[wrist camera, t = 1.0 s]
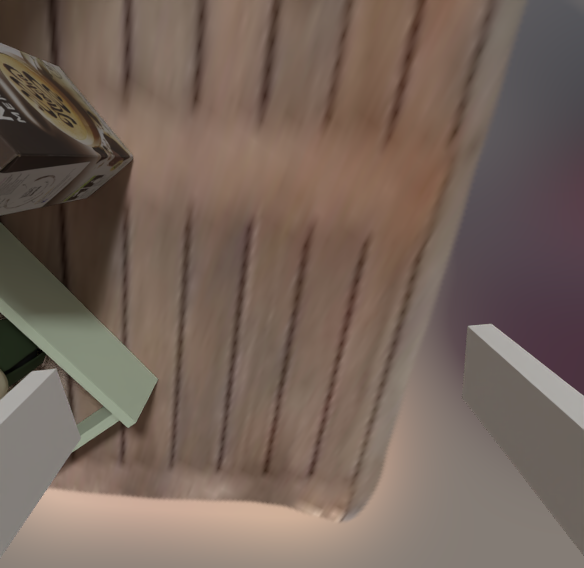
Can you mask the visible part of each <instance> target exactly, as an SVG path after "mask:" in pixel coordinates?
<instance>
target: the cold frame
mask: <svg viewBox="0 0 584 568" xmlns="http://www.w3.org/2000/svg"><path fill="white" fill-rule="evenodd" d="M0 312H1V313H2V314H3V315H4V316H5V317H6V318H7V319H8V320H9V321H10V322H12V323H13V324H14V325H15V326H16V327H17V328H18V329H19V330H20V331H22V332H23V333H24V334H25V335H26V336H27V337H28V338H29V339H30V340H31V341H33V342H34V343H35V344H36V345H37V346H38V347H39V348H40V349H41V350H42V351H44V352H45V353H46V354H47V355H48V356H49V357H50V358H51V359H52V360H54V361H55V362H56V363H57V364H58V365H59V366H60V367H61V368H62V369H63V370H65V371H66V372H67V373H68V374H69V375H70V376H71V377H72V378H73V379H74V380H76V381H77V382H78V383H79V384H80V385H81V386H82V387H83V388H84V389H85V390H87V391H88V392H89V393H90V394H91V395H92V396H93V397H94V398H95V399H97V400H98V401H99V402H100V403H101V404H102V405H103V407H102V408H101V409H99V410H98V411H96V412H95V413H93V414H92V415H90V416H89V417H88V418H86V419H85V420H83V421H82V422H80V423H79V424H77V428H78V431H79V434H80V437H81V439H80V441H79V442H78V444H77V445H76V447H75V448H74V450H73V451H75V450H76V449H78V448H79V447H81V446H82V445H84V444H85V443H87V442H88V441H90V440H91V439H93V438H94V437H96V436H97V435H99V434H100V433H102V432H103V431H105V430H106V429H108V428H109V427H110V426H112V425H113V424H115V423H116V422H118V421H119V420H120V421H121V422H122V423H123V424H124V425H125V426H126V427H127V428H129V427H130V426H132V425H133V424H135V423H136V422H137V420H138V418H139V416H140V414H141V412H142V410H143V408H144V406H145V404H146V402H147V400H148V398H149V396H150V394H151V392H152V390H153V388H154V386H155V384H156V383H157V381H158V379H157V378H156V377H155V376H154V375H153V374H152V373H151V372H150V371H149V370H148V369H147V368H146V367H145V366H144V365H143V364H142V363H141V362H140V361H139V360H138V359H137V358H136V357H135V356H134V355H133V354H132V353H131V352H130V351H129V350H128V349H127V348H126V347H125V346H124V345H123V344H122V343H121V342H120V341H119V340H118V339H117V338H116V337H115V336H114V335H113V334H112V333H111V332H110V331H109V330H108V329H107V328H106V327H105V326H104V325H103V324H102V323H101V322H100V321H99V320H98V319H97V318H96V317H95V316H94V315H93V314H92V313H91V312H90V311H89V310H88V309H87V308H86V307H85V306H84V305H83V304H82V303H81V302H80V301H79V300H78V299H77V298H76V297H75V296H74V295H73V294H72V293H71V292H70V291H69V290H68V289H67V288H66V287H65V286H64V285H63V284H62V283H61V282H60V281H59V280H58V279H57V278H56V277H55V276H54V275H53V274H52V273H51V272H50V271H49V270H48V269H47V268H46V267H45V266H44V265H43V264H42V263H41V262H40V261H39V260H38V259H37V258H36V257H35V256H34V255H33V254H32V253H31V252H30V251H29V250H28V249H27V248H26V247H25V246H24V245H23V244H22V243H21V242H20V241H19V240H18V239H17V238H16V237H15V236H14V235H13V234H12V233H11V232H10V231H9V230H8V229H7V228H6V227H5V226H4V225H3V224H2V223H1V222H0ZM73 451H72V452H73Z"/></svg>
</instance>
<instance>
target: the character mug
mask: <svg viewBox="0 0 584 568" xmlns="http://www.w3.org/2000/svg"><path fill="white" fill-rule="evenodd" d="M37 348H38V346H37V345H36V344H35V343H34V342H33V341H31V340H30V339H29V338H28V337H27V336H26V335H25V334H24V333H23V332H22V331H20V330H19V329H18V328H17V327H16V326H15V325H14V324H13V323H12V322H10V321H9V320H8V319H4V320H0V400H1V399H2V398H3V397H4V396H5V395H6V394H7V391H8V388H9V386H11V385H12V384H14V383H15V382H17V381H18V380H20V379H21V378H23V377H24V376H26V375H27V374H28V373H30V372H31V371H32V370H34V369H35V368H36V367H38V366H39V365H40V364H42V363H43V360H44V358H45V356H46V353H45V352H42V353H41V354H40V355H38V356H37V357H36V355H37Z"/></svg>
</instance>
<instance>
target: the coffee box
mask: <svg viewBox="0 0 584 568" xmlns="http://www.w3.org/2000/svg"><path fill="white" fill-rule="evenodd" d="M132 159H133V155H132V154H131V153H130V152H129V150H128V149H127V148H126V147H125V145H124V144H123V143H122V142H121V141H120V139H119V138H118V137H117V136H116V135H115V133H114V132H113V131H112V130H111V129H110V127H109V126H108V125H107V124H106V123H105V122H104V120H103V119H102V118H101V117H100V116H99V114H98V113H97V112H96V111H95V109H94V108H93V107H92V106H91V105H90V103H89V102H88V101H87V100H86V99H85V97H84V96H83V95H82V94H81V93H80V91H79V90H78V89H77V88H76V87H75V85H74V84H73V83H72V82H71V81H70V79H69V78H68V77H67V76H66V75H65V73H64V72H63V71H62V70H61V69H60V67H58V66H56V65H53V64H51V63H48V62H46V61H44V60H41V59H39V58H36V57H34V56H31V55H29V54H27V53H24V52H22V51H19V50H17V49H14V48H12V47H9V46H7V45H4V44H2V43H0V216H1V215H5V214H10V213H16V212H21V211H25V210H30V209H35V208H40V207H45V206H50V205H55V204H60V203H65V202H69V201H74V200H79V199H84V198H87V197H89V196H90V195H91V194H92V193H94V192H95V191H96V190H97V189H98V188H100V187H101V186H102V185H103V184H105V183H106V182H107V181H108V180H109V179H111V178H112V177H113V176H114V175H115V174H117V173H118V172H119V171H120V170H121V169H122V168H124V167H125V166H126V165H127V164H128V163H129V162H130V161H131V160H132Z"/></svg>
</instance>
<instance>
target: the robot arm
mask: <svg viewBox="0 0 584 568" xmlns="http://www.w3.org/2000/svg"><path fill="white" fill-rule="evenodd" d="M462 398H463V400H464V401H465V402H466V404H467V405H468V406H469V407H470V409H471V410H472V411H473V413H474V414H475V415H476V417H477V418H478V419H479V420H480V422H481V423H482V424H483V426H484V427H485V428H486V430H487V431H488V432H489V433H490V435H491V436H492V437H493V438H494V440H495V441H496V443H497V444H498V445H499V446H500V448H501V449H502V450H503V452H504V453H505V454H506V456H507V457H508V458H509V459H510V460H511V462H512V463H513V464H514V466H515V467H516V468H517V470H518V471H519V472H520V474H521V475H522V476H523V478H524V479H525V480H526V482H527V483H528V484H529V485H530V487H531V488H532V489H533V490H534V492H535V493H536V494H537V496H538V497H539V498H540V500H541V501H542V502H543V504H544V505H545V506H546V507H547V509H548V510H549V511H550V513H551V514H552V515H553V517H554V518H555V519H556V520H557V522H558V523H559V524H560V526H561V527H562V528H563V530H564V531H565V532H566V533H567V535H568V536H569V537H570V539H571V540H572V541H573V543H574V544H575V545H576V546H577V548H578V549H579V550H580V551H581V553H582V554H583V556H584V396H583V395H582V394H580V393H579V392H578V391H576V390H575V389H574V388H573V387H571V386H570V385H569V384H567V383H566V382H565V381H564V380H562V379H561V378H559V376H557V375H556V374H555V373H553V372H552V371H551V370H550V369H548V368H547V367H546V366H545V365H543V364H542V363H541V362H539V361H538V360H537V359H536V358H534V357H533V356H532V355H531V354H529V353H528V352H527V351H525V350H524V349H523V348H522V347H520V346H519V345H518V344H516V343H515V342H514V341H513V340H511V339H510V338H509V337H508V336H506V335H505V334H504V333H502V332H501V331H500V330H499V329H497V328H496V327H495V326H494V325H492V324H484V325H474V326H468V329H467V341H466V354H465V367H464V380H463V392H462ZM80 439H81V437H80V434H79V431H78V428H77V425H76V423H75V420H74V417H73V414H72V411H71V408H70V406H69V403H68V400H67V397H66V394H65V392H64V389H63V386H62V383H61V380H60V378H59V375H58V372H57V369H49V370H39V371H32V372H31V373H29V374H28V375H27V376H26V377H25V378H24V379H23V380H22V381H21V382H20V383H18V384H17V385H16V386H15V387H14V388H13V389H12V390H11V391H10V392H9V393H7V394H6V395H5V396H4V397H3V398H2V399H1V400H0V558H1V557H2V555H3V554H4V552H5V551H6V549H7V548H8V546H9V545H10V543H11V542H12V540H13V539H14V537H15V536H16V534H17V533H18V531H19V530H20V528H21V527H22V526H23V524H24V523H25V521H26V519H27V518H28V516H29V515H30V514H31V512H32V511H33V509H34V508H35V506H36V505H37V503H38V502H39V500H40V499H41V497H42V496H43V494H44V493H45V491H46V490H47V488H48V487H49V485H50V484H51V482H52V481H53V479H54V478H55V476H56V475H57V473H58V472H59V470H60V469H61V467H62V466H63V465H64V463H65V462H66V460H67V459H68V457H69V456H70V454H71V453H72V451H73V450H74V448H75V447H76V445H77V444H78V442H79V441H80Z"/></svg>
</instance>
